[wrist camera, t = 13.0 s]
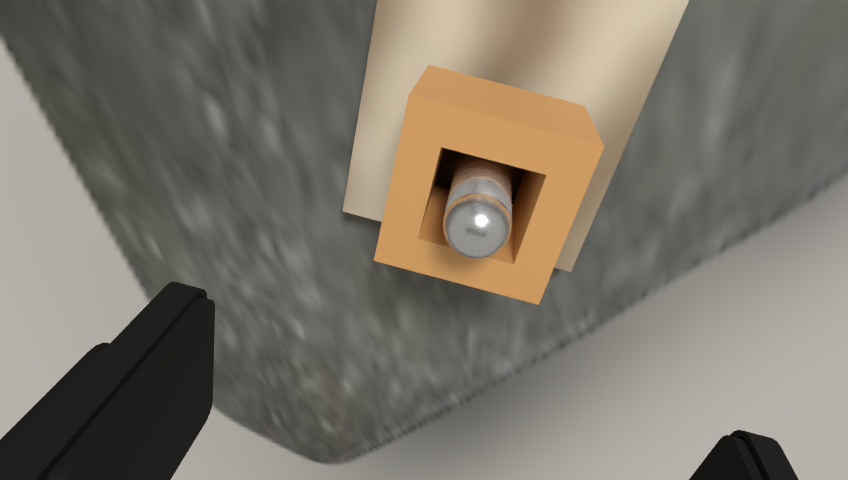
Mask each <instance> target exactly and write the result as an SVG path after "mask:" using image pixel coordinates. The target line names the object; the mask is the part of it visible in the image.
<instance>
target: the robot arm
mask: <svg viewBox="0 0 848 480" xmlns="http://www.w3.org/2000/svg"><path fill="white" fill-rule="evenodd" d="M214 324H215V303H214V301H213V300H210V299H207V293H206V291H205V290H203V289H200V288H196V287H193V286H189V285H185V284H181V283H177V282H170V283H169V284H168V285H166V286H165V287H164V288H163V289H162V290H161V291H160V292H159V293H158V294H157V296H156V297H155V298H154V299H153V300H152V301H151V302H150V303H149V304H148V305H147V306H146V307H145V308H144V309H143V310H142V311H141V312H140V313H139V314H138V315H137V316H136V317H135V318H134V319H133V320H132V321H131V322H130V324H129V325H128V326H127V327H126V328H125V329H124V330H123V331H122V332H121V333H120V334H119V335H118V336H117V337H116V338H115V339H114V340H113V341H112V342H111V343H101V344H99V345H96V346H95V347H94V348H93V349H91V350H90V351H89V352H87V354H86V355H84V357H83V358H82V359H81V360H79V362H78V363H77V364H75V366H74V367H73V368H72V369H71V370H70V371H69V372H68V373H67V374H66V375H65V376H64V377H63V378H62V379H61V380H60V381H59V382H58V383H57V384H56V385H55V386H54V387H53V388H52V389H51V390H50V391H49V392H48V393H47V394H46V395H45V396H44V397H43V398H42V399H41V400H40V401H39V402H38V403H37V404H36V405H35V406H34V407H33V408H32V409H31V410H30V411H29V412H28V413H27V414H26V415H25V416H24V417H23V418H22V419H21V420H20V421H19V422H18V423H17V424H16V425H15V426H14V427H13V428H12V429H11V430H10V431H9V432H8V433H7V434H6V435H5V436H4V437H3V438H2V439H1V440H0V480H170V479H171V478H172V476H173V474H174V473H175V471H176V470H177V468H178V466H179V465H180V463H181V461H182V460H183V458H184V457H185V455H186V453H187V452H188V450H189V448H190V447H191V445H192V443H193V442H194V440H195V439H196V437H197V435H198V434H199V432H200V430H201V429H202V427H203V425H204V424H205V422H206V420H207V418H208V416H209V414H210V410H211V407H212V401H213V364H214ZM689 480H798V478H797V476H796V474H795V472H794V470H793V469H792V467H791V465H790V463H789V461H788V460H787V457H786V456H785V454H784V452H783V450H782V448H781V447H780V445H779V444H778V442H777V441H775V440H774V439H772V438H769V437H765V436H761V435H757V434H753V433H750V432H746V431H741V430H737V431H734V432H733V433H732V434H731V435H729V436H728V435H726V436H723V437H722V438H721V439H720V440H719V441H718V443H717V444H716V445H715V447H714V448H713V449H712V450H711V452H710V453H709V454H708V456H707V457H706V458H705V460H704V461H703V462H702V464H701V465H700V466H699V467H698V469H697V470H696V471H695V473H694V474H693V475H692V477H691V478H690V479H689Z"/></svg>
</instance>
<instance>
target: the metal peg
mask: <svg viewBox="0 0 848 480" xmlns="http://www.w3.org/2000/svg"><path fill="white" fill-rule="evenodd" d="M524 172H525V169H522V168H518V167H514V166H511V165H507V164H503V163H499V162H496V161H492V160H488V159H484V158H480V157H477V156H473V155H469V154H465V153H462V152H458V151H454V150H450V149H446V148H444V149H443V153H442V157H441V160H440V164H439V168H438V172H437V176H436V180H435V184H434V185H435V186H438V187H442V188H445V189H449V190H450V192H449V197H448V201H447V205H446V209H445V214H444V218H443V231H444V235H445V238H446V240H447V242H448V243H449V245H450V246H451V247H452V248H453V249H454V250H455V251H456V252H457V253H459V254H460V255H462V256H464V257H467V258H472V259H483V258H487V257H490V256H492V255H494V254H496V253H497V252H499V251H500V250H501V249H502V248H503V247H504V246H505V244H506V243H507V241H508V239H509V237H510V234H511V229H512V205H513V204H514V201H515V198H516V195H517V192H518V189H519V186H520V183H521V180H522V178H523V175H524Z"/></svg>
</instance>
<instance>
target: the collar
mask: <svg viewBox="0 0 848 480" xmlns="http://www.w3.org/2000/svg"><path fill="white" fill-rule="evenodd" d="M444 148H446V149H450V150H454V151H458V152H462V153H465V154H469V155H473V156H477V157H480V158H484V159H488V160H492V161H496V162H499V163H503V164H507V165H511V166H514V167H518V168H522V169H525V172H524V175H523V178H522V180H521V183H520V186H519V189H518V192H517V195H516V198H515V201H514V204H513V206H512V229H511V234H510V237H509V239H508V241H507V243H506V244H505V246H504V247H503V248H502V249H501V250H500V251H499V252H497V253H496V254H494V255H492V256H490V257H487V258H483V259H472V258H467V257H464V256H462V255H460V254H459V253H457V252H456V251H455V250H454V249H453V248H452V247H451V246H450V245H449V243H448V242H447V240H446V238H445V235H444V231H443V218H444V214H445V209H446V205H447V201H448V197H449V192H450V190H449V189H445V188H442V187H438V186H434V184H435V180H436V176H437V172H438V168H439V164H440V160H441V157H442V153H443V149H444ZM603 149H604V145H603V143H602V141H601V139H600V136H599V134H598V132H597V130H596V128H595V126H594V124H593V122H592V120H591V118H590V116H589V114H588V112H587V109H586V107H585V106H584V105H581V104H577V103H573V102H569V101H565V100H562V99H558V98H554V97H550V96H546V95H543V94H539V93H535V92H531V91H527V90H524V89H520V88H516V87H512V86H508V85H505V84H501V83H497V82H493V81H489V80H486V79H482V78H478V77H474V76H470V75H467V74H463V73H459V72H455V71H451V70H448V69H444V68H440V67H436V66H432V65H428V67H427V68H426V70H425V71H424V73H423V74H422V76H421V77H420V79H419V80H418V82H417V83H416V85H415V86H414V88H413V89H412V91H411V92H410V94H409V96H408V101H407V106H406V110H405V115H404V120H403V125H402V129H401V134H400V139H399V144H398V148H397V153H396V158H395V163H394V167H393V172H392V177H391V182H390V186H389V191H388V196H387V201H386V205H385V210H384V215H383V220H382V224H381V229H380V234H379V238H378V243H377V248H376V253H375V257H374V261H377V262H380V263H384V264H388V265H392V266H395V267H399V268H403V269H407V270H410V271H414V272H418V273H422V274H425V275H429V276H433V277H437V278H440V279H444V280H448V281H452V282H455V283H459V284H463V285H467V286H470V287H474V288H478V289H482V290H485V291H489V292H493V293H497V294H500V295H504V296H508V297H512V298H515V299H519V300H523V301H527V302H530V303H534V304H538V305H539V302H540V300H541V298H542V295H543V293H544V290H545V288H546V286H547V283H548V281H549V278H550V276H551V274H552V271H553V269H554V266H555V264H556V262H557V259H558V257H559V254H560V252H561V250H562V247H563V245H564V242H565V240H566V238H567V235H568V233H569V230H570V228H571V226H572V223H573V221H574V218H575V216H576V214H577V211H578V209H579V206H580V204H581V201H582V199H583V197H584V194H585V192H586V189H587V187H588V185H589V182H590V180H591V177H592V175H593V173H594V170H595V168H596V165H597V163H598V161H599V158H600V156H601V153H602V151H603Z"/></svg>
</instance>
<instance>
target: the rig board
mask: <svg viewBox="0 0 848 480" xmlns="http://www.w3.org/2000/svg"><path fill="white" fill-rule="evenodd" d="M688 2H689V0H377V6H376V12H375V19H374V25H373V31H372V37H371V43H370V49H369V55H368V61H367V67H366V73H365V79H364V85H363V91H362V97H361V103H360V109H359V115H358V121H357V127H356V133H355V139H354V145H353V151H352V157H351V163H350V169H349V176H348V182H347V188H346V194H345V200H344V206H343V212H346V213H350V214H354V215H358V216H361V217H365V218H369V219H373V220H377V221H380V222H382V220H383V215H384V210H385V205H386V201H387V196H388V191H389V186H390V182H391V177H392V172H393V167H394V163H395V158H396V153H397V148H398V144H399V139H400V134H401V129H402V125H403V120H404V115H405V110H406V106H407V101H408V96H409V94H410V92H411V91H412V89H413V88H414V86H415V85H416V83H417V82H418V80H419V79H420V77H421V76H422V74H423V73H424V71H425V70H426V68H427V67H428V65H432V66H436V67H440V68H444V69H448V70H451V71H455V72H459V73H463V74H467V75H470V76H474V77H478V78H482V79H486V80H489V81H493V82H497V83H501V84H505V85H508V86H512V87H516V88H520V89H524V90H527V91H531V92H535V93H539V94H543V95H546V96H550V97H554V98H558V99H562V100H565V101H569V102H573V103H577V104H581V105H584V106H585V107H586V109H587V112H588V114H589V116H590V118H591V120H592V122H593V124H594V126H595V128H596V130H597V132H598V134H599V136H600V139H601V141H602V143H603V145H604V149H603V151H602V153H601V156H600V158H599V161H598V163H597V165H596V168H595V170H594V173H593V175H592V177H591V180H590V182H589V185H588V187H587V189H586V192H585V194H584V197H583V199H582V201H581V204H580V206H579V209H578V211H577V214H576V216H575V218H574V221H573V223H572V226H571V228H570V230H569V233H568V235H567V238H566V240H565V242H564V245H563V247H562V250H561V252H560V254H559V257H558V259H557V262H556V264H555V266H554V268H557V269H561V270H565V271H569V272H571V270H572V268H573V266H574V263H575V261H576V259H577V256H578V254H579V252H580V250H581V247H582V245H583V243H584V240H585V238H586V236H587V233H588V231H589V229H590V227H591V224H592V222H593V220H594V217H595V215H596V213H597V210H598V208H599V206H600V204H601V201H602V199H603V197H604V194H605V192H606V190H607V188H608V185H609V183H610V181H611V178H612V176H613V174H614V171H615V169H616V167H617V165H618V162H619V160H620V158H621V155H622V153H623V151H624V149H625V146H626V144H627V142H628V139H629V137H630V135H631V132H632V130H633V128H634V126H635V123H636V121H637V119H638V116H639V114H640V112H641V109H642V107H643V105H644V103H645V100H646V98H647V96H648V93H649V91H650V89H651V87H652V84H653V82H654V80H655V77H656V75H657V73H658V70H659V68H660V66H661V64H662V61H663V59H664V57H665V54H666V52H667V50H668V48H669V45H670V43H671V41H672V38H673V36H674V34H675V31H676V29H677V27H678V25H679V22H680V20H681V18H682V15H683V13H684V11H685V9H686V6H687V4H688ZM434 186H435V185H434ZM512 206H513V205H512Z"/></svg>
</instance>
